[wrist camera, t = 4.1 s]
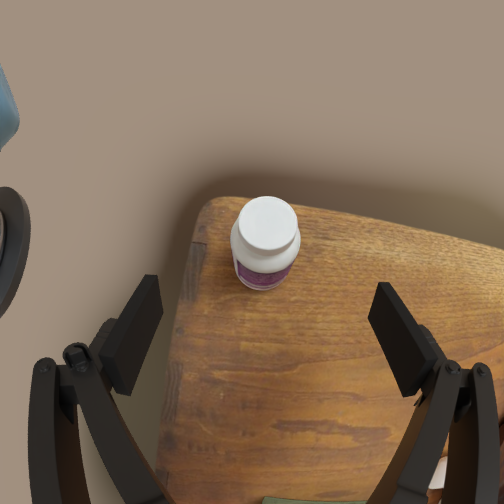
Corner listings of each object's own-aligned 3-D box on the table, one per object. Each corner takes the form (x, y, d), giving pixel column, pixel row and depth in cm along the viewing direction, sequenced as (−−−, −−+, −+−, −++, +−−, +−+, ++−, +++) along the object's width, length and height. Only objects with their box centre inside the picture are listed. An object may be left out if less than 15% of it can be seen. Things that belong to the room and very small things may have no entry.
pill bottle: (299, 273, 27) (324, 235, 18) (252, 301, 26) (255, 276, 17) (269, 229, 29) (279, 175, 20) (224, 255, 28) (213, 209, 19)
